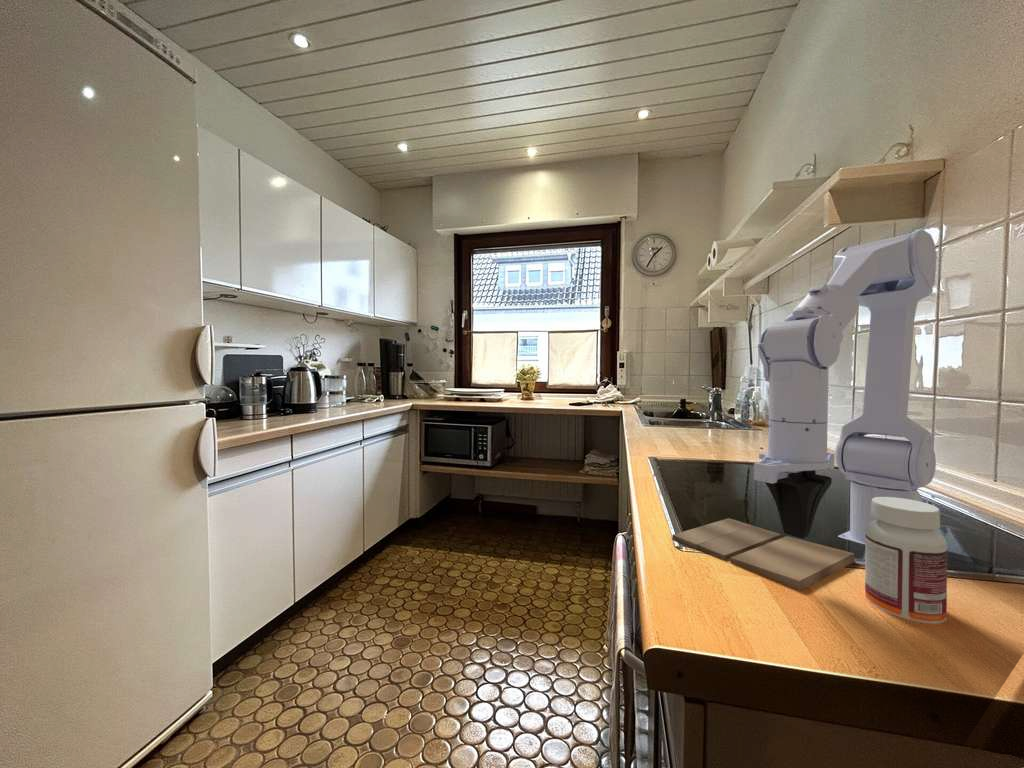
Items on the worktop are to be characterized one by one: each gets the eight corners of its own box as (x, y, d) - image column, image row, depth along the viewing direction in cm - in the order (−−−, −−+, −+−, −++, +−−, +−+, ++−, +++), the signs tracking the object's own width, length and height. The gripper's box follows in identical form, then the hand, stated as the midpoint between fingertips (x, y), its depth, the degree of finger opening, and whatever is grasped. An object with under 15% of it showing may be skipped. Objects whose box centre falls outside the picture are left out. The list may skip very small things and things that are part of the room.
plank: (787, 544, 59) (786, 536, 60) (854, 562, 53) (854, 553, 53) (730, 567, 52) (730, 557, 52) (799, 591, 45) (799, 580, 46)
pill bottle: (945, 611, 42) (947, 503, 42) (947, 637, 38) (949, 518, 38) (867, 589, 47) (868, 491, 47) (861, 611, 43) (862, 503, 42)
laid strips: (728, 525, 67) (728, 518, 67) (785, 543, 60) (785, 535, 60) (672, 542, 60) (672, 534, 60) (728, 566, 53) (729, 557, 53)
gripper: (791, 415, 55) (790, 514, 56) (728, 421, 48) (727, 535, 48) (855, 420, 49) (854, 531, 50) (794, 427, 42) (792, 558, 42)
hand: (795, 534), depth 48 cm, fingers closed
